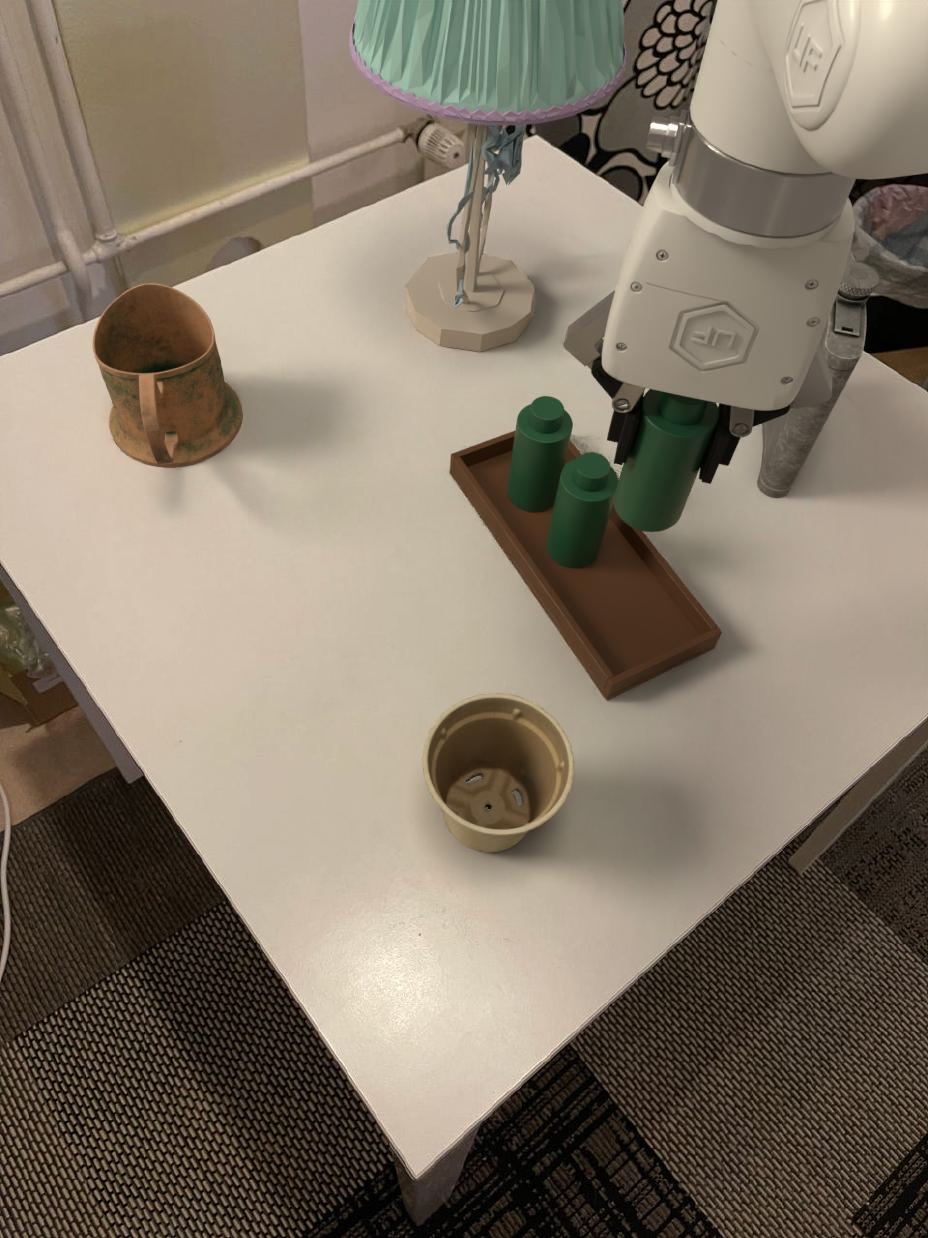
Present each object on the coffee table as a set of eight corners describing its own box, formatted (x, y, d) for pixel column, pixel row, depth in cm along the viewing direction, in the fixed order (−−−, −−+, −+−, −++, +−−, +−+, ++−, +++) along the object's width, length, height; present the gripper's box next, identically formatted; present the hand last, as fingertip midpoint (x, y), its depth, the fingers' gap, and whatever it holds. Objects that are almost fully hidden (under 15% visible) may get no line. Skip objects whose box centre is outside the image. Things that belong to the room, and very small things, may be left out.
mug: (109, 529, 75) (63, 424, 65) (110, 379, 84) (70, 267, 74) (252, 512, 77) (229, 408, 67) (238, 367, 86) (215, 256, 76)
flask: (793, 388, 89) (872, 220, 74) (798, 501, 81) (889, 338, 66) (755, 383, 89) (826, 213, 74) (757, 494, 81) (837, 331, 66)
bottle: (695, 517, 58) (744, 401, 50) (638, 542, 57) (678, 427, 49) (655, 470, 60) (696, 351, 52) (600, 493, 59) (632, 374, 51)
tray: (714, 648, 72) (723, 632, 70) (606, 700, 69) (612, 685, 67) (548, 435, 84) (551, 416, 82) (449, 472, 81) (450, 453, 79)
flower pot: (583, 810, 64) (605, 759, 57) (492, 907, 60) (504, 866, 53) (485, 724, 68) (494, 666, 60) (392, 811, 64) (390, 760, 56)
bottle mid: (609, 556, 76) (634, 475, 67) (564, 576, 74) (584, 495, 66) (580, 519, 78) (601, 435, 69) (536, 537, 76) (552, 454, 68)
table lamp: (556, 403, 86) (653, -115, 52) (333, 357, 88) (289, -173, 54) (592, 263, 97) (690, -235, 64) (394, 225, 99) (389, -280, 66)
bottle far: (567, 501, 79) (586, 417, 70) (523, 519, 77) (537, 435, 69) (541, 466, 81) (556, 380, 72) (497, 483, 79) (508, 397, 71)
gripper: (557, 178, 38) (513, 473, 54) (969, 255, 37) (803, 535, 52) (586, 87, 42) (537, 385, 58) (958, 154, 41) (807, 441, 56)
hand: (665, 454), depth 55 cm, fingers closed on bottle, 4 cm apart
